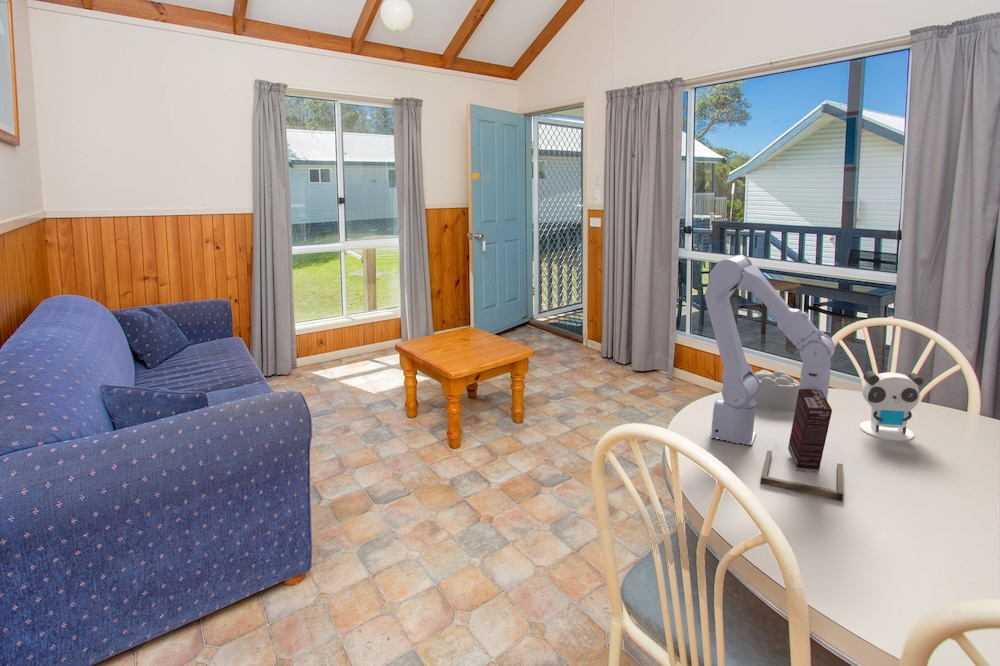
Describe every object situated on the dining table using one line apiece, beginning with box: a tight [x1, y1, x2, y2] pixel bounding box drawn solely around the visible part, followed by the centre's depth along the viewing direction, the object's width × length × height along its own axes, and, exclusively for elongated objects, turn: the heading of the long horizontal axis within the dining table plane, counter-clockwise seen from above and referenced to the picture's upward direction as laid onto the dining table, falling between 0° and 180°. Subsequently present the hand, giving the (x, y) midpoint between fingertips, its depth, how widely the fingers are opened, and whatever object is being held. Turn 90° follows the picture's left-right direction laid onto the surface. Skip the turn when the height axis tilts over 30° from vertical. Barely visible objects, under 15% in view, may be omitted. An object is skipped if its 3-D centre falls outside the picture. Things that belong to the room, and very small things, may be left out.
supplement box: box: [787, 389, 833, 473], centre depth 129 cm, size 9×5×16 cm, turn 167°
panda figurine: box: [859, 370, 924, 442], centre depth 146 cm, size 12×11×15 cm
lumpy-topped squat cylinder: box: [753, 369, 800, 412], centre depth 165 cm, size 10×13×9 cm
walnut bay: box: [759, 449, 844, 502], centre depth 126 cm, size 15×14×2 cm
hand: (807, 445), depth 136 cm, fingers closed, pressing on supplement box
